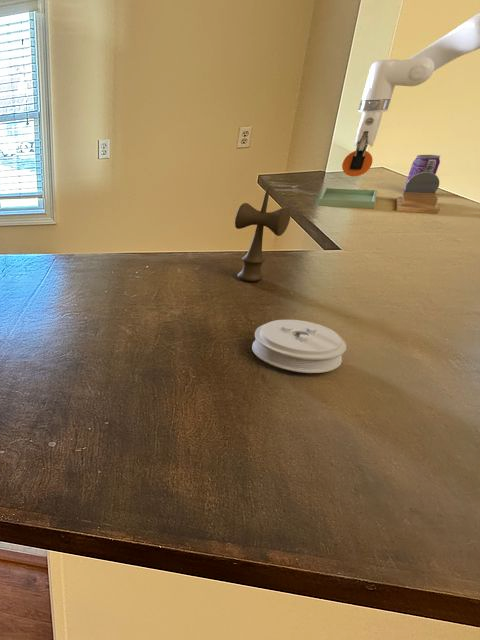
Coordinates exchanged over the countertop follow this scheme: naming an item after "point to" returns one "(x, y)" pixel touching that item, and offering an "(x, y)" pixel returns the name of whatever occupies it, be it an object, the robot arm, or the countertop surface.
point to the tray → (348, 198)
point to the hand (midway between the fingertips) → (355, 168)
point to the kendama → (259, 234)
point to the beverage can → (423, 165)
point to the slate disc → (423, 183)
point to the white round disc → (299, 346)
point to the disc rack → (417, 202)
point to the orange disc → (353, 172)
